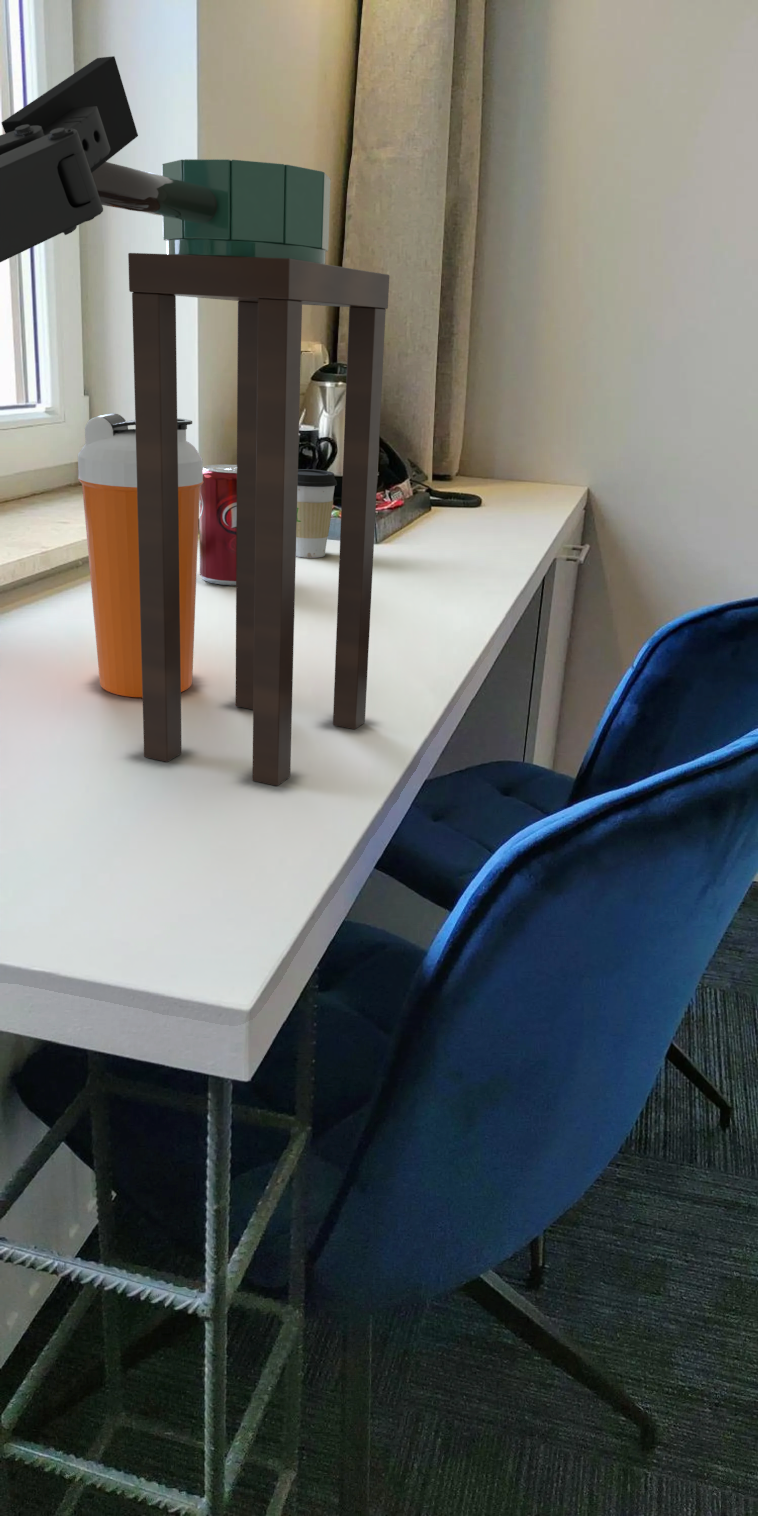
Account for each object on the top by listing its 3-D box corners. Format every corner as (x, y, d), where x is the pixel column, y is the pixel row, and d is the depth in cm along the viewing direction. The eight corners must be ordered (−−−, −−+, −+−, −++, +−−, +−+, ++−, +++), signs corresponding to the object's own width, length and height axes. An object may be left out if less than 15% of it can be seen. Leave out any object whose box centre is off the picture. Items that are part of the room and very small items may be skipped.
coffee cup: (295, 547, 142) (297, 467, 139) (342, 553, 140) (345, 472, 137) (272, 555, 137) (274, 472, 133) (321, 561, 134) (324, 477, 131)
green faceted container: (215, 263, 69) (215, 181, 68) (353, 269, 66) (357, 182, 64) (-42, 229, 50) (-51, 111, 48) (136, 234, 46) (132, 108, 45)
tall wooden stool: (278, 787, 69) (289, 258, 58) (141, 757, 72) (127, 252, 61) (367, 722, 81) (389, 274, 70) (246, 699, 84) (250, 269, 74)
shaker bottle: (200, 703, 83) (198, 425, 76) (78, 700, 82) (64, 418, 75) (207, 669, 91) (206, 414, 84) (96, 666, 90) (86, 409, 83)
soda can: (185, 578, 122) (184, 466, 118) (230, 569, 128) (230, 462, 123) (235, 589, 118) (236, 474, 114) (279, 580, 124) (281, 469, 120)
